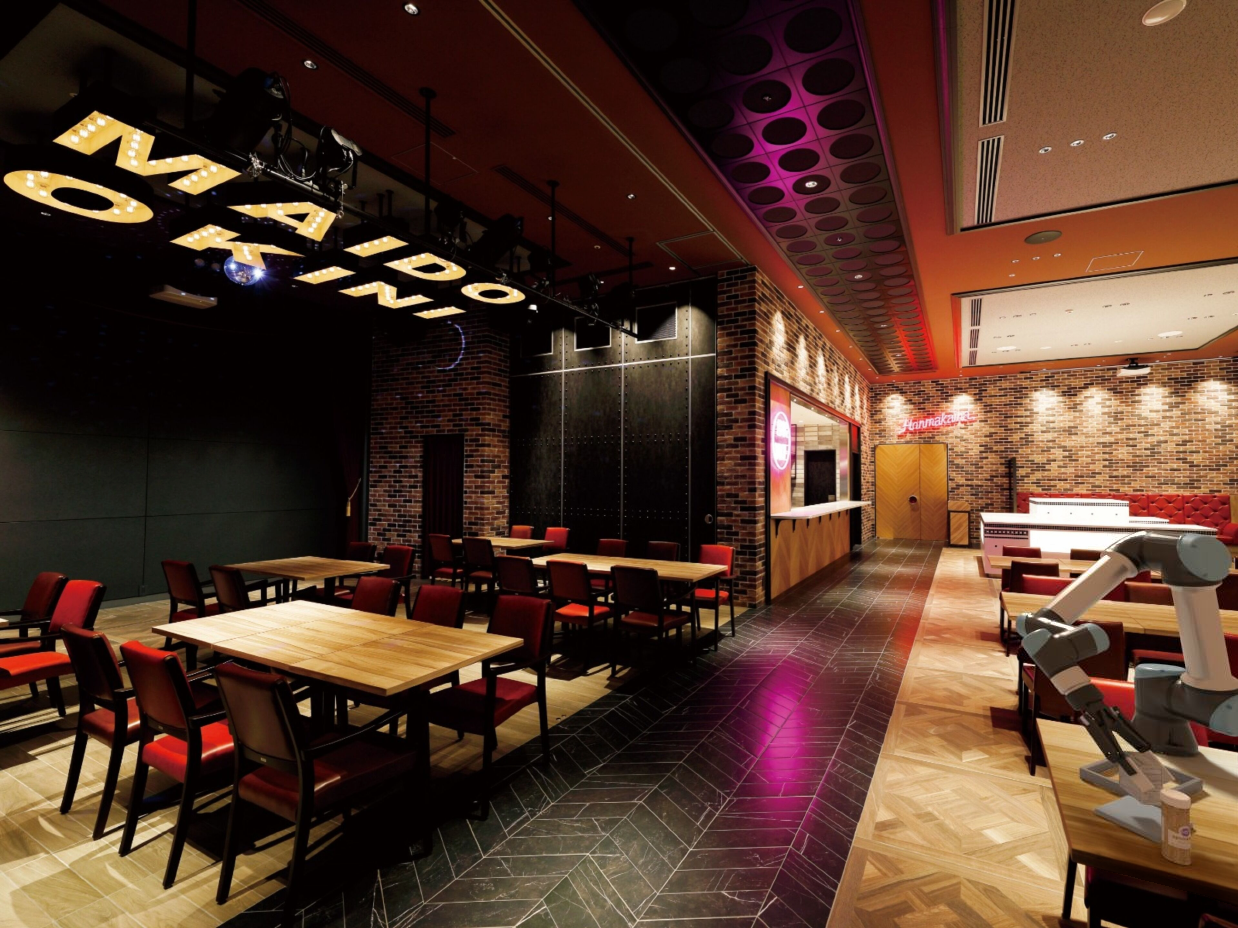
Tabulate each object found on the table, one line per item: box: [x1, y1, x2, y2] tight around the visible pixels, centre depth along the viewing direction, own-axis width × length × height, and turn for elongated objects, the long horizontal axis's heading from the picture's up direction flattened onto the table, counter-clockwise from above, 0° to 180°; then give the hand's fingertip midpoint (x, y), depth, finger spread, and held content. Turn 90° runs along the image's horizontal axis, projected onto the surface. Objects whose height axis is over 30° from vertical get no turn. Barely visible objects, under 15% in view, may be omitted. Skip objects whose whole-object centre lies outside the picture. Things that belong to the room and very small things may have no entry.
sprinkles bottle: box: [1160, 788, 1192, 866], centre depth 119 cm, size 5×5×14 cm
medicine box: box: [1118, 750, 1164, 806], centre depth 132 cm, size 8×4×9 cm, turn 169°
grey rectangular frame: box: [1078, 758, 1204, 809], centre depth 148 cm, size 22×16×2 cm
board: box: [1094, 795, 1194, 844], centre depth 132 cm, size 14×12×1 cm
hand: (1159, 785), depth 129 cm, fingers closed on medicine box, 8 cm apart
